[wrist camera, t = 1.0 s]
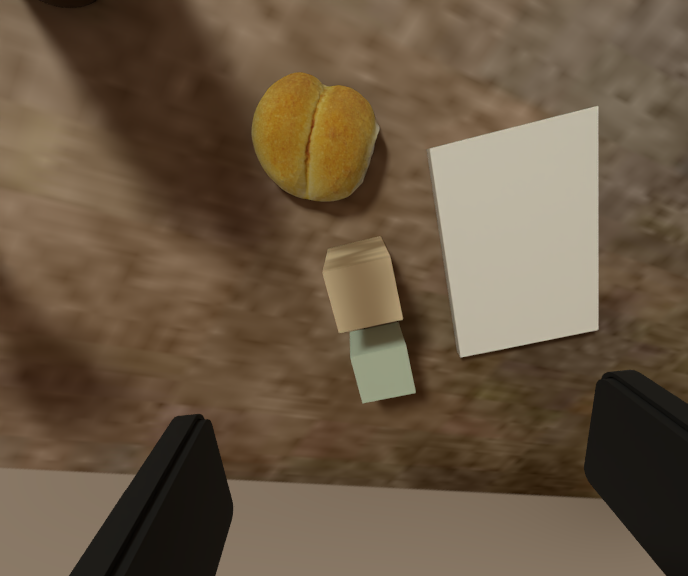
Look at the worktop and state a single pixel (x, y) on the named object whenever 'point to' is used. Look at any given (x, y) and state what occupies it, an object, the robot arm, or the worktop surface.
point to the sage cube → (381, 362)
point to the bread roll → (314, 137)
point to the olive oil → (68, 3)
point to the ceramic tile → (520, 231)
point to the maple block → (361, 285)
